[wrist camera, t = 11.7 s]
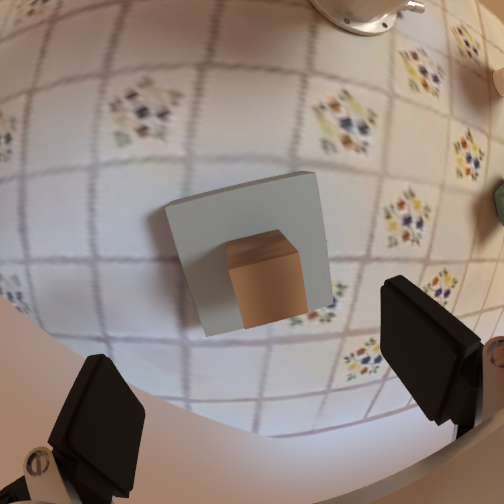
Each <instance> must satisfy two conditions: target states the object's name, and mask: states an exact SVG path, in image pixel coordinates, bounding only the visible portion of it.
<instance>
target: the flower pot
mask: <svg viewBox="0 0 504 504" xmlns="http://www.w3.org/2000/svg"><path fill="white" fill-rule="evenodd" d="M494 198H495V203H496V209H497V215H498V218H499V220H500V222H501V223H502V225H503V226H504V183H503V184H502V185H501V186H500V187H499V188H498V189H497V190H496V191H495V192H494Z"/></svg>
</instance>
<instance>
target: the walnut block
mask: <svg viewBox="0 0 504 504" xmlns="http://www.w3.org/2000/svg"><path fill="white" fill-rule="evenodd" d="M225 243H226V252H227V261H228V269H229V273H230V277H231V281H232V284H233V288H234V292H235V295H236V299H237V303H238V306H239V310H240V313H241V317H242V320H243V324H244V327H245V329H248V328H252V327H256V326H260V325H264V324H268V323H272V322H276V321H279V320H283V319H287V318H291V317H294V316H298V315H301V314H305V313H308V306H307V299H306V292H305V286H304V279H303V273H302V267H301V261H300V255H299V252H298V251H297V249H296V248H295V247H294V246H293V245H292V244H291V243H290V242H289V240H288V239H287V238H286V237H285V236H284V235H283V234H282V233H281V231H280V230H279V229H276V230H272V231H268V232H264V233H259V234H255V235H251V236H247V237H243V238H239V239H235V240H231V241H227V242H225Z"/></svg>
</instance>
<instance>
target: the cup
mask: <svg viewBox="0 0 504 504" xmlns="http://www.w3.org/2000/svg"><path fill="white" fill-rule="evenodd" d="M493 82H494V85H495V87H496V90H497V91H498V93H499V94H500V95H501V96H504V68H502V69H499V70H497V71H494V72H493Z"/></svg>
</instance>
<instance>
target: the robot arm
mask: <svg viewBox="0 0 504 504" xmlns="http://www.w3.org/2000/svg"><path fill="white" fill-rule="evenodd" d="M310 2H311V3H312V5H313V6H314V7H315V8H316V9H317V10H318V11H319V12H320V13H321V14H322V15H323V16H324V17H325V18H327V19H328V20H330V21H331V22H332V23H334V24H336V25H337V26H339V27H341V28H343V29H345V30H348V31H350V32H353V33H356V34H361V35H366V36H375V35H380V34H383V33H385V32H387V31H388V30H390V29H391V28H392V27H393V26H394V24H395V22H396V19H397V12H399V11H400V10H401V11H406V10H410V11H412V12H416V13H421V14H422V13H423V12H424V11H425V7H424V5H423V3H421V2H419V1H415V0H310ZM380 293H381V335H380V350H381V353H382V355H383V357H384V358H385V360H386V361H387V362H388V364H389V365H390V366H391V368H392V369H393V370H394V372H395V373H396V375H397V376H398V377H399V379H400V380H401V381H402V383H403V384H404V386H405V387H406V388H407V390H408V391H409V393H410V394H411V395H412V397H413V398H414V400H415V401H416V402H417V404H418V405H419V407H420V408H421V410H422V411H423V412H424V414H425V415H426V417H427V418H428V419H429V420H430V421H433V420H434V421H435V422H436V424H437V425H438V426H439V425H441V424H443V423H444V422H446V421H447V420H449V419H451V421H452V422H453V423H454V431H453V437H452V442H451V443H450V444H449V445H447V446H445V447H444V448H442V449H440V450H439V451H437V452H435V453H434V454H432V455H430V456H428V457H426V458H425V459H423V460H421V461H419V462H417V463H415V464H414V465H412V466H410V467H408V468H406V469H404V470H402V471H400V472H398V473H396V474H393V475H391V476H389V477H387V478H385V479H383V480H380V481H378V482H375V483H373V484H370V485H368V486H365V487H363V488H360V489H358V490H355V491H352V492H350V493H347V494H344V495H341V496H338V497H335V498H332V499H328V500H325V501H321V502H318V503H314V504H504V336H498V337H494V338H492V339H490V340H488V341H487V342H486V343H485V345H483V344H482V343H481V342H480V341H481V339H480V338H479V337H478V336H477V335H476V334H475V333H474V332H472V331H471V330H470V329H469V328H468V327H467V326H465V325H464V324H463V323H462V322H461V321H459V320H458V319H457V318H456V317H455V316H453V315H452V314H451V313H450V312H449V311H447V310H446V309H445V308H444V307H442V306H441V305H440V304H439V303H437V302H436V301H435V300H434V299H432V298H431V297H430V296H428V295H427V294H426V293H425V292H423V291H422V290H421V289H419V288H418V287H417V286H416V285H414V284H413V283H412V282H410V281H409V280H408V279H406V278H405V277H404V276H402V275H398V276H395V277H393V278H390V279H387V280H385V282H384V285H383V286H382V287H381V290H380ZM144 420H145V410H144V407H143V406H142V404H141V403H140V402H139V400H138V399H137V397H136V396H135V395H134V393H133V392H132V390H131V389H130V388H129V386H128V385H127V383H126V382H125V380H124V379H123V377H122V376H121V374H120V373H119V371H118V370H117V368H116V367H115V365H114V364H113V362H112V360H111V359H110V358H109V357H106V356H105V355H104V354H97V355H90V356H88V357H87V358H86V360H85V362H84V364H83V366H82V368H81V370H80V372H79V374H78V376H77V378H76V380H75V382H74V384H73V386H72V388H71V390H70V392H69V394H68V396H67V399H66V401H65V403H64V405H63V407H62V409H61V412H60V414H59V416H58V419H57V420H56V423H55V425H54V428H53V430H52V432H51V435H50V437H49V439H48V443H49V444H50V445H51V446H52V447H53V450H52V451H51V450H49V449H48V448H47V447H37V448H34V449H33V450H32V451H30V452H29V454H28V455H27V456H26V458H25V460H24V464H23V470H24V476H22V477H20V478H19V479H17V480H16V481H14V482H13V483H11V484H9V485H8V486H6V487H5V488H3V489H2V490H1V491H0V504H114V502H113V501H112V496H113V495H114V496H115V497H121V498H129V492H130V491H131V490H132V489H133V484H134V478H135V470H136V464H137V459H138V453H139V447H140V441H141V436H142V430H143V425H144Z"/></svg>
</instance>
